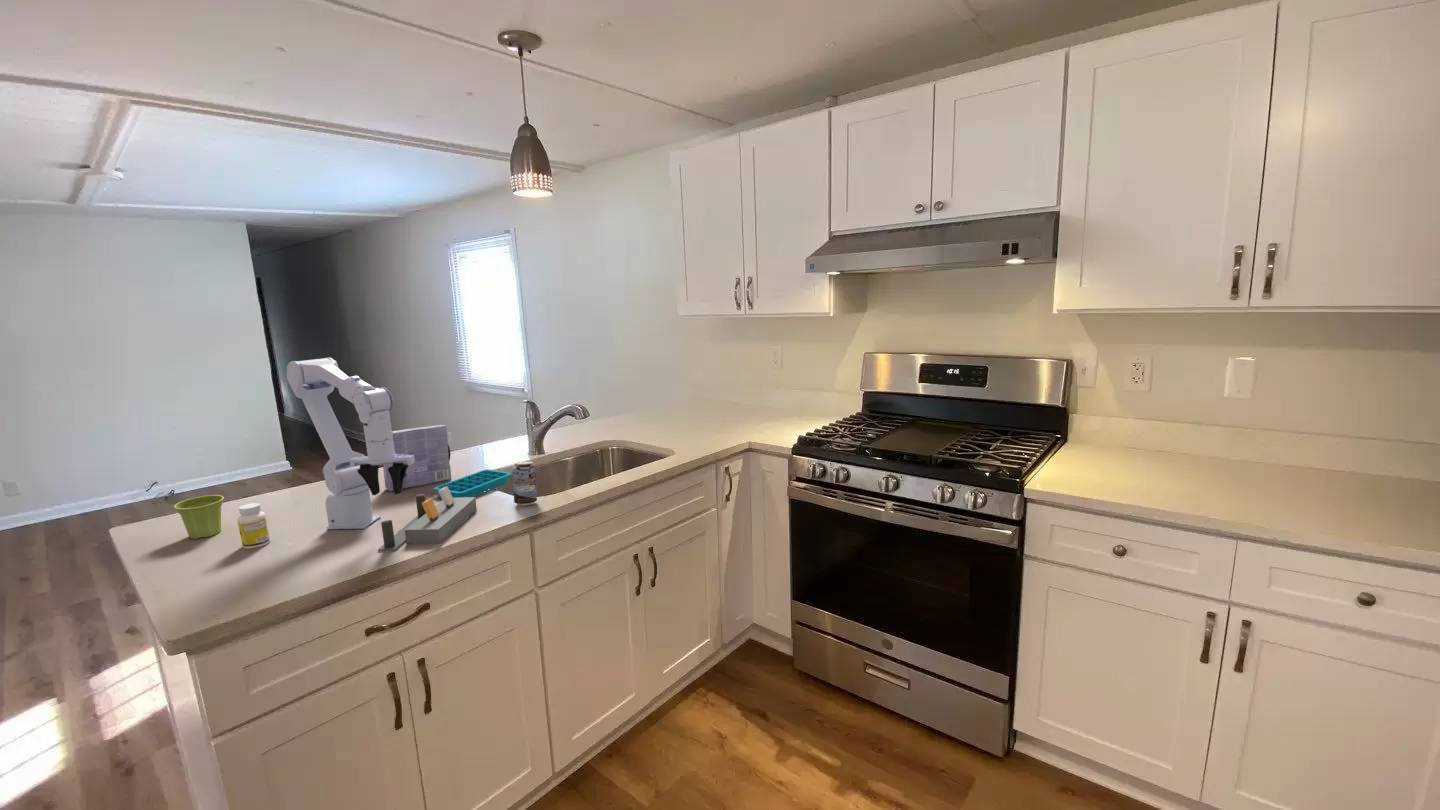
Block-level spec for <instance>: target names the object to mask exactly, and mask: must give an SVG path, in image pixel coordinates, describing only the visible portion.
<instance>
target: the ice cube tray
mask: <svg viewBox="0 0 1440 810" xmlns="http://www.w3.org/2000/svg"><path fill="white" fill-rule="evenodd" d="M511 475H512V473H511V472H507V471H501V470H493V469H482V470H480V471H477V472H473V473H471V474H468V475H465V476H462V477H460V478H457V479H454V480H452V481H451V480H450V481H449V482H446V483H442V484H440V485H437V486H435V487H434V488H433V489H434V490H435V491H437V493H438V496H440V494H439V490H441V489H442V488H444V487H447V486H448V488H449V491H450V493H451V495H452V497H453V498H459V497H476V496H477V495H481V494H484V493H485V492H484V491H486V492H488V491H487V490H488V489H491V490H493V489H496V488H499V487H501V486H503V485H505V484H508V483H509V477H510V476H511ZM483 492H484V493H483ZM439 498H441V496H440V497H439Z"/></svg>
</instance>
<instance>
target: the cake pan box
mask: <svg viewBox="0 0 1440 810" xmlns="http://www.w3.org/2000/svg"><path fill="white" fill-rule="evenodd" d="M392 435H393V443H394V450H395V454H400V455H414V459H415V463H413V464H411V465H409V466H408V468H407V470H406V473H405V476H404V480H403V485H402V490H403V489H404V488H405V489H409V487H410V488H415V487H422V486H426V485H430V484H435V483H439V482H444V481H451V480H452V473H451V472H452V471H451V464H450V460H451V448H450V446H449V445H450V444H449V442H448V441H449V439H448V430H447V425H445V424H444V425H443V424H439V425H431V426H424V427H415V428H406V429H400V430H394V431H393V430H392ZM391 466H393V465H382V469H383V478H384V488H385V489H386V490H387V491H388V492H389V491H390V492H394V489H393V482H392V479H391V476H390V473H389V471H388V468H389V467H391Z"/></svg>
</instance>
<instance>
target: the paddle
mask: <svg viewBox="0 0 1440 810" xmlns="http://www.w3.org/2000/svg"><path fill="white" fill-rule="evenodd" d="M439 494H440V496H441V497H440V498H441V499H442V500H443V502H444V504H445V507H446V508H449V507H450V506H451V505H452V504H453V503H454V499H453V497H452V495H451V493H450V491H449V488H448V486H447V487H444V488H442V489H441V490H439ZM439 494H438V495H439ZM442 500H441V501H442Z"/></svg>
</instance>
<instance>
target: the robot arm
mask: <svg viewBox="0 0 1440 810" xmlns="http://www.w3.org/2000/svg"><path fill="white" fill-rule="evenodd" d="M286 380H287V381H288V384H289V385H290V388H291V391H292V392H293V393H294V395H295V397H296V398H298V399H302V402H303V404H304V407H305V409H306V411H307V413H308V414H309V417H310V419H311V421H312V424H313V425H314V428H315V430H316V432H317V434H318V437H319V438H320V440H321V443H322V444H323V446H324V448H325V450H326V453H327V454H328V456H329V460H328V461H327V462H326V463H325V465H324V466H323V468H322V474H323V477H324V482H325V486H326V487H327V489H328V491H330V492H329V493H328V495H327V497H326V499H325V510H326V511H325V512H326V517H327V524H328V526H327V527H326V529H327V530H351V529H352V530H353V529H354V530H355V529H358V530H359V529H365V528H367V527H368V526H370V525H371V524H372V523H374V522H376V521H377V520H378V519H381V515H379V514H377V515H374V514H373V508H372V499H371V495H372V496H376V495H378V494H379V493H380V492H381V491H380V489H381V488H380V481H379V468H380V466H383V465H393V466H391V467H389V468H388V471H389V473H390V476H391V479H392V482H393V489H394V491H393V493H394V495H399V494H401V493H402V492H403V489H402V485H403V480H404V476H405V473H406V470H407V468H408V466H409V465H411V464H413V463H415V459H414V455H400V454H395V450H394V443H393V435H392V431H393V430H392V423H391V415H390V414H391V413H390V411H392V409H393V407H394V399H393V398H394V397H393V394H392V393H391V392H390V390H389V389H387V388H386V387H379V388H378V387H374V386H373V385H371V384H369V383H368V382H366V381H364V380H363V379H361V377H360V376H358V375H353V376H348V375H347V374H346V373H344V372H343V370H341V369H340V368H339V364H338V362H337V360H335V359H333V358H332V357H329V356H328V357H324V358H315V359H307V360H297V361H296V360H292V361H290V362H288V364H287V366H286ZM335 388H336V389H337V390H338V392H339V393H338V394H339V395H340V396H341V397H342V398H344V399H345V400H347V401H349V402H350V403H352V404H353V405H354V408H355V410H356V413H358V417H359V421H360V423H362V425H363V432H364V439H365V446H366V453H367V455H365V454H363V453H360V452H357V451H354V450H352V447H351V445H350V443H349V441H348V439H347V438H346V435H345V433H344V431H343V429H342V427H341V424H340V423H339V420H338V419H337V417H336V416H337V415H335V412H334V410H333V407H332V406H331V404H330V401H329V399H328V395H330V394H331V393H332V392H334V390H335ZM370 492H371V493H370Z"/></svg>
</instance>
